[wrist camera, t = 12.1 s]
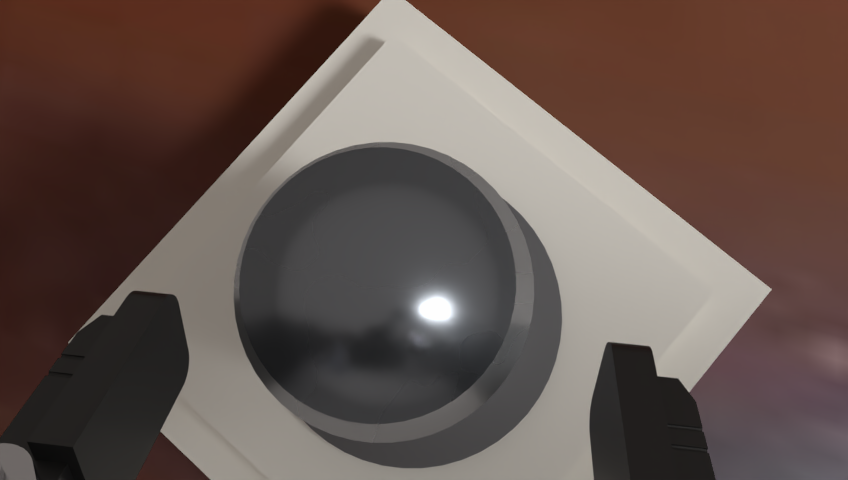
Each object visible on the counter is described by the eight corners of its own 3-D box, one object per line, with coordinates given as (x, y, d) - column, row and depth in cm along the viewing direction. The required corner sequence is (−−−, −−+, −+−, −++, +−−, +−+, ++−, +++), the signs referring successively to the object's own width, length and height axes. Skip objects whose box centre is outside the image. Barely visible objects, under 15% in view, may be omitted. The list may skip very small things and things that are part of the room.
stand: (735, 297, 26) (791, 284, 22) (443, 659, 24) (439, 724, 20) (398, 28, 28) (387, -33, 24) (111, 344, 27) (43, 341, 22)
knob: (563, 306, 22) (652, 260, 12) (422, 472, 21) (393, 571, 11) (402, 171, 23) (361, 25, 13) (263, 327, 22) (107, 301, 12)
